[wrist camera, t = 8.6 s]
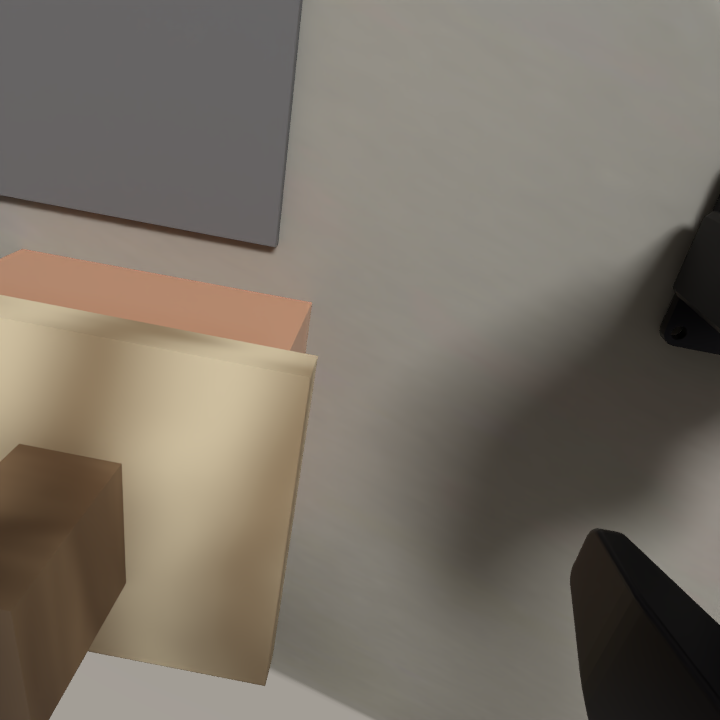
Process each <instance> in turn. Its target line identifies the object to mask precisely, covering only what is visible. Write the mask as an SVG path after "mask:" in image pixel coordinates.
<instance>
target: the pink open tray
mask: <svg viewBox="0 0 720 720" xmlns="http://www.w3.org/2000/svg"><path fill="white" fill-rule="evenodd" d="M0 295H4V296H9V297H15V298H20V299H25V300H30V301H35V302H40V303H46V304H51V305H56V306H61V307H66V308H71V309H77V310H82V311H87V312H92V313H97V314H103V315H108V316H113V317H118V318H123V319H128V320H134V321H139V322H144V323H149V324H154V325H159V326H165V327H170V328H175V329H180V330H185V331H190V332H196V333H201V334H206V335H211V336H216V337H221V338H227V339H232V340H237V341H242V342H247V343H253V344H258V345H263V346H268V347H273V348H278V349H284V350H289V351H294V352H299V353H304V354H306V346H307V338H308V330H309V323H310V315H311V307H312V303H311V302H306V301H301V300H295V299H290V298H284V297H279V296H274V295H268V294H263V293H257V292H252V291H247V290H241V289H236V288H230V287H225V286H220V285H214V284H209V283H203V282H198V281H193V280H187V279H182V278H176V277H171V276H166V275H160V274H155V273H149V272H144V271H139V270H133V269H128V268H122V267H117V266H112V265H106V264H101V263H95V262H90V261H85V260H79V259H74V258H68V257H63V256H58V255H52V254H47V253H41V252H36V251H31V250H25V249H21V250H19V251H16V252H14V253H12V254H10V255H8V256H5V257H3V258H1V259H0Z"/></svg>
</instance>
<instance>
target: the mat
mask: <svg viewBox="0 0 720 720" xmlns="http://www.w3.org/2000/svg"><path fill="white" fill-rule="evenodd" d="M301 10H302V0H0V195H3V196H8V197H14V198H19V199H24V200H29V201H35V202H40V203H45V204H50V205H56V206H61V207H66V208H71V209H77V210H82V211H87V212H92V213H98V214H103V215H108V216H114V217H119V218H124V219H129V220H135V221H140V222H145V223H150V224H156V225H161V226H166V227H171V228H177V229H182V230H187V231H192V232H198V233H203V234H208V235H213V236H219V237H224V238H229V239H234V240H240V241H245V242H250V243H256V244H261V245H266V246H271V247H276V246H277V245H278V240H279V230H280V220H281V210H282V200H283V190H284V180H285V170H286V160H287V150H288V140H289V130H290V120H291V110H292V100H293V90H294V80H295V70H296V60H297V50H298V40H299V30H300V20H301Z"/></svg>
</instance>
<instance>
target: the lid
mask: <svg viewBox="0 0 720 720" xmlns="http://www.w3.org/2000/svg"><path fill="white" fill-rule="evenodd" d="M317 358H318V356H315V355H309V354H304V353H299V352H294V351H289V350H284V349H278V348H273V347H268V346H263V345H258V344H253V343H247V342H242V341H237V340H232V339H227V338H221V337H216V336H211V335H206V334H201V333H196V332H190V331H185V330H180V329H175V328H170V327H165V326H159V325H154V324H149V323H144V322H139V321H134V320H128V319H123V318H118V317H113V316H108V315H103V314H97V313H92V312H87V311H82V310H77V309H71V308H66V307H61V306H56V305H51V304H46V303H40V302H35V301H30V300H25V299H20V298H15V297H9V296H4V295H0V720H49V719H50V717H51V715H52V713H53V711H54V710H55V708H56V706H57V704H58V703H59V701H60V699H61V697H62V696H63V693H64V692H65V690H66V688H67V687H68V685H69V683H70V681H71V680H72V678H73V676H74V674H75V673H76V671H77V669H78V667H79V665H80V663H81V662H82V660H83V659H84V657H85V655H86V653H87V651H89V652H94V653H99V654H105V655H109V656H115V657H120V658H125V659H130V660H135V661H140V662H145V663H150V664H155V665H161V666H166V667H171V668H176V669H181V670H186V671H191V672H196V673H201V674H207V675H212V676H217V677H222V678H227V679H232V680H237V681H242V682H247V683H252V684H258V685H263V686H265V684H266V680H267V676H268V672H269V668H270V664H271V660H272V656H273V650H274V643H275V637H276V630H277V623H278V617H279V610H280V603H281V597H282V590H283V584H284V577H285V570H286V564H287V557H288V550H289V544H290V537H291V531H292V524H293V517H294V511H295V504H296V497H297V491H298V484H299V478H300V471H301V464H302V458H303V451H304V444H305V438H306V431H307V425H308V418H309V411H310V405H311V398H312V391H313V385H314V378H315V371H316V365H317Z"/></svg>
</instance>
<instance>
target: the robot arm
mask: <svg viewBox="0 0 720 720" xmlns="http://www.w3.org/2000/svg"><path fill="white" fill-rule="evenodd" d="M673 289H674V291H675V295H674V297H673V299H672V301H671V304H670V306H669V308H668V310H667V313H666V315H665V317H664V319H663V321H662V324H661V326H660V330H659V331H660V335H661V336H662V338H663V339H664V340H665V341H666V342H667V343H668V344H670V345H672V346H677V347H682V348H687V349H692V350H698V351H703V352H708V353H713V354H719V355H720V195H719V198H718V200H717V202H716V204H715V206H714V209H713V211H712V212H711V213H710V214H708V215H707V216H705V217H704V219H703V221H702V223H701V225H700V227H699V230H698V232H697V234H696V236H695V239H694V241H693V243H692V245H691V248H690V250H689V252H688V254H687V256H686V259H685V261H684V263H683V265H682V268H681V270H680V272H679V274H678V277H677V279H676V281H675V283H674V286H673ZM678 326H682V330H681V331H680V333H678V334H676V335H671V333H672V331H673V329H674V328H676V327H678ZM570 586H571V595H572V604H573V614H574V623H575V632H576V641H577V651H578V660H579V669H580V677H581V684H582V690H583V696H584V701H585V706H586V711H587V715H588V720H720V625H719V624H718V623H717V622H716V621H715V620H714V619H713V618H712V617H711V616H710V615H708V614H707V613H706V612H705V611H704V610H703V609H702V608H701V607H700V606H699V605H698V604H697V603H696V602H695V601H694V600H693V599H692V598H691V597H689V596H688V595H687V594H686V593H685V592H684V591H683V590H682V589H681V588H680V587H679V586H678V585H677V584H676V583H675V582H674V581H673V580H672V579H670V578H669V577H668V576H667V575H666V574H665V573H664V572H663V571H662V570H661V569H660V568H659V567H658V566H657V565H656V564H655V563H654V562H653V561H651V560H650V559H649V558H648V557H647V556H646V555H645V554H644V553H643V552H642V551H641V550H640V549H639V548H638V547H637V546H636V545H635V544H634V543H632V542H631V541H630V540H629V539H628V538H627V537H626V536H625V535H624V534H622V533H619V532H615V531H610V530H604V529H599V528H596V529H593V530H591V531H590V532H589V534H588V535H587V537H586V539H585V542H584V544H583V546H582V548H581V550H580V552H579V554H578V556H577V558H576V560H575V562H574V565H573V567H572V570H571V576H570Z"/></svg>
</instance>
